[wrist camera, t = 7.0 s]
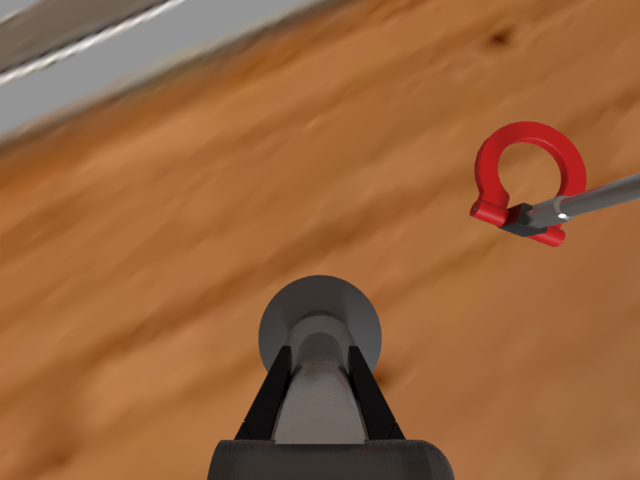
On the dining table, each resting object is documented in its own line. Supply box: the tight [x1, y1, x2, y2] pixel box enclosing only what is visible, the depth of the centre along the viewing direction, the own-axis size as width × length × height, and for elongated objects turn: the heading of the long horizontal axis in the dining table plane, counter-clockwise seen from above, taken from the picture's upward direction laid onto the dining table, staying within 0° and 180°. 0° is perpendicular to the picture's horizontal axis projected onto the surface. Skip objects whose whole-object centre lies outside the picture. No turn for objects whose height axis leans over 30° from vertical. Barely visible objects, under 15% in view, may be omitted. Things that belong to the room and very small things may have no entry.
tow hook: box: [470, 121, 640, 247], centre depth 17 cm, size 8×13×9 cm
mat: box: [258, 275, 382, 372], centre depth 21 cm, size 9×9×1 cm
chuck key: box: [207, 310, 455, 480], centre depth 13 cm, size 4×6×14 cm
